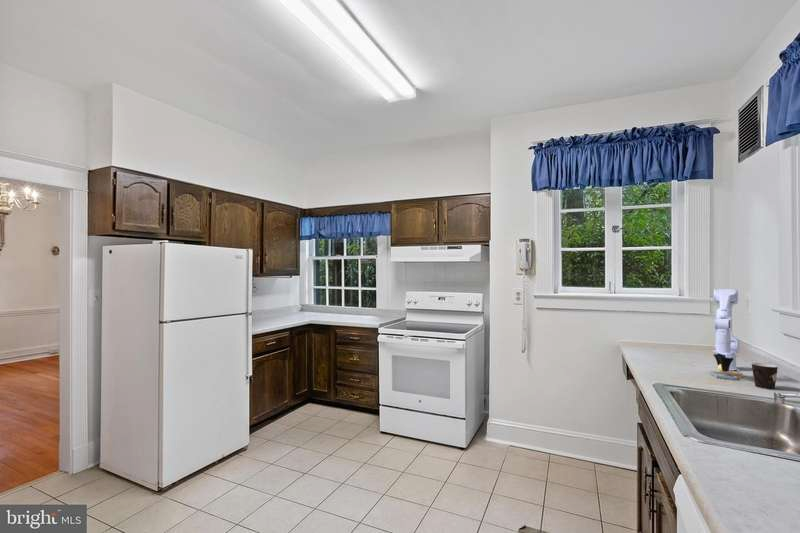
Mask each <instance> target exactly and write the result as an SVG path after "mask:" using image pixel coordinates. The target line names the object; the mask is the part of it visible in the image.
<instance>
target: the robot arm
mask: <svg viewBox="0 0 800 533" xmlns="http://www.w3.org/2000/svg"><path fill="white" fill-rule="evenodd" d="M713 299H714V301H715V303H716V304H718V305H719V308H717V309H716V312H715V313H716V315H715V318H714V319H713V327H714V328H713V329H714V333H715V341H714V342H715V343H714V347H715V350H712V352H713V353H714V354H713V357H714V359H715V361H716V365H720V364H721V367H722V371H734V370H737V371H736V372H741V371H740V369H738V368H737V354H738V353H740V339H739V338H738V337H737V336H736V335H734V334H733V306H734V305H737V304H738V303H739V290H738V289H737V288H735V289H734V288H733V289H731V288H730V289H729V288H726V289H725V288H721V289H720V288H714V289H713Z"/></svg>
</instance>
